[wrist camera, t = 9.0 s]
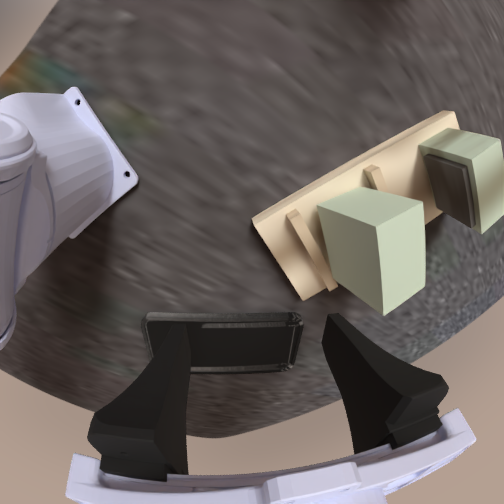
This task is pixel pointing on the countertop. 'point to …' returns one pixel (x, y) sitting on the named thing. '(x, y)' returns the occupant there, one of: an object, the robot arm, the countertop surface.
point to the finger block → (375, 245)
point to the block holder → (395, 182)
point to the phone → (230, 340)
